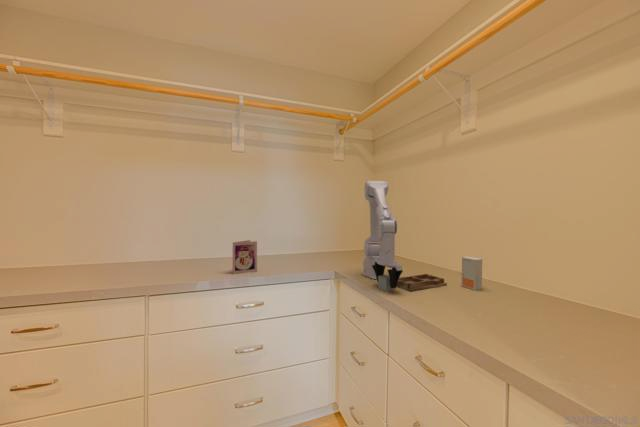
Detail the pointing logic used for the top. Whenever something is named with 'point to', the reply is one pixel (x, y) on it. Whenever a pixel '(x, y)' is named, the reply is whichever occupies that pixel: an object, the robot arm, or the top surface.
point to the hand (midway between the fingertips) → (386, 285)
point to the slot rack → (420, 282)
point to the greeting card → (244, 257)
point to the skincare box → (472, 273)
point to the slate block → (384, 283)
